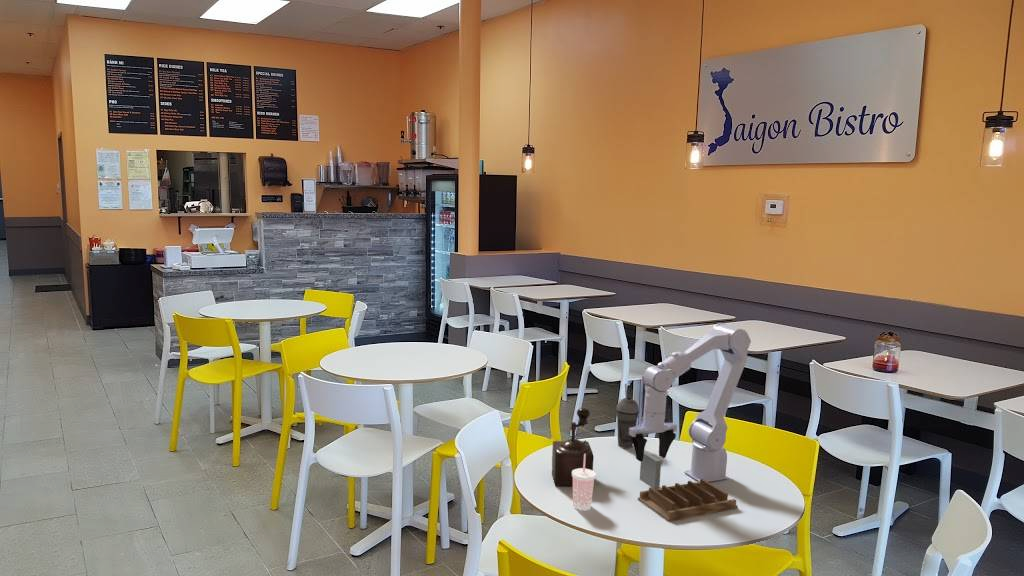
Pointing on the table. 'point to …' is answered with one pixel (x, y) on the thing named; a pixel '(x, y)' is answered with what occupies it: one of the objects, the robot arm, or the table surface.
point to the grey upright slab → (650, 470)
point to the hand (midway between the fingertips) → (650, 458)
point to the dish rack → (686, 500)
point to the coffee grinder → (571, 454)
